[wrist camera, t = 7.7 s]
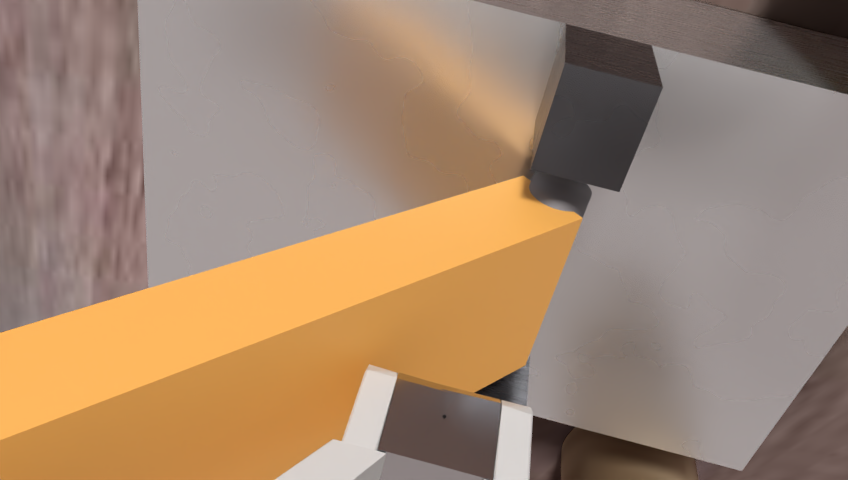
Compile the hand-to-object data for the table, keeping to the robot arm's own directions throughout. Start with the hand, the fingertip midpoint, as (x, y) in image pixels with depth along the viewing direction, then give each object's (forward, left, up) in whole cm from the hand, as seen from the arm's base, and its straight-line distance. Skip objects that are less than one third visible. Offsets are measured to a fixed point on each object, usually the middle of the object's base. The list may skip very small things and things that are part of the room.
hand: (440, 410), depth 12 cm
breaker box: (0, 0, -9) cm, 9 cm away
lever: (+1, 0, -4) cm, 5 cm away
